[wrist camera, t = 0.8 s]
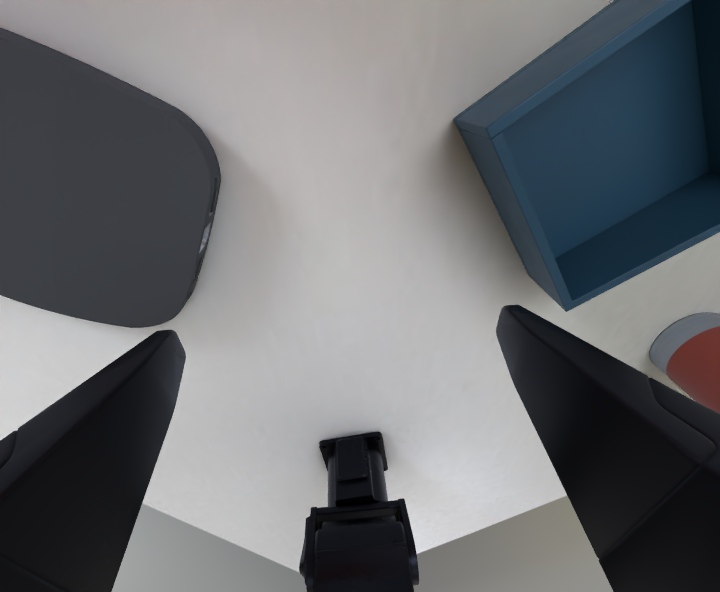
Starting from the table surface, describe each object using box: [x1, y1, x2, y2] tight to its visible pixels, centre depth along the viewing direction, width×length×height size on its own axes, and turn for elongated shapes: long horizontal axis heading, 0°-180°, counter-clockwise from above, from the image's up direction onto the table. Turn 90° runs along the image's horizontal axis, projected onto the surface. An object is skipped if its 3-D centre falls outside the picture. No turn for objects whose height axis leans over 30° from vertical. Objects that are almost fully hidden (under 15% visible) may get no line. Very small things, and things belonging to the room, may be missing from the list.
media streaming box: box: [0, 28, 221, 328], centre depth 20 cm, size 15×15×3 cm
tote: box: [454, 0, 720, 312], centre depth 19 cm, size 13×13×5 cm
